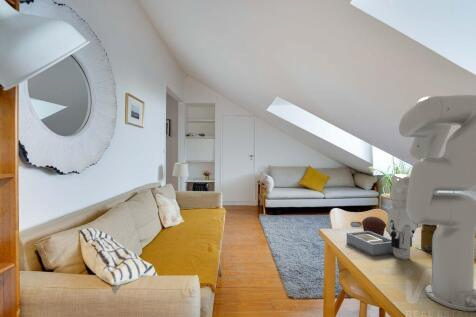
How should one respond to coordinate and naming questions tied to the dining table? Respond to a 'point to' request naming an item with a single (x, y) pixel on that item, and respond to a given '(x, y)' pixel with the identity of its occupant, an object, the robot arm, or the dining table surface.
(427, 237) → the condiment
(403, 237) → the energy drink can
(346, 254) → the dining table surface
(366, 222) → the muffin
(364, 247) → the walled box
